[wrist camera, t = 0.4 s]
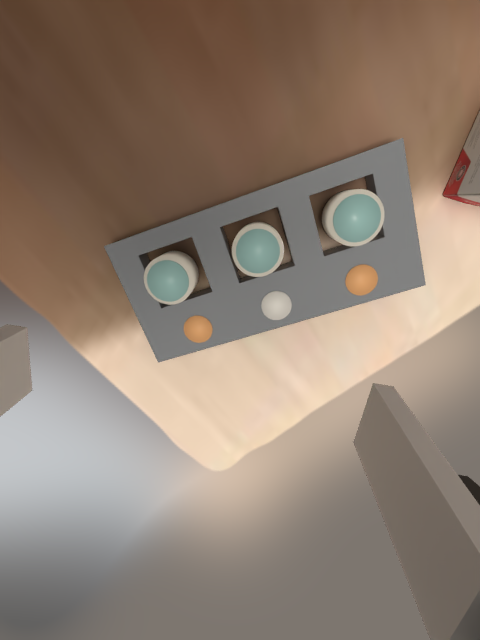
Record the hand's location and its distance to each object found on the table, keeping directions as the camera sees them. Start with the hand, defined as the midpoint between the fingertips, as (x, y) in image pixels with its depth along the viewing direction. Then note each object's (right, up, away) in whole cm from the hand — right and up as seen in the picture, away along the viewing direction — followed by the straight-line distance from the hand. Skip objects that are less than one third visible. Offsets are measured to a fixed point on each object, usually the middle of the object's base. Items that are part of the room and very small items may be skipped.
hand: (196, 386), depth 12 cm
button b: (+4, +10, +20) cm, 23 cm away
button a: (-5, +7, +22) cm, 24 cm away
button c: (+12, +12, +19) cm, 26 cm away
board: (+4, +9, +23) cm, 25 cm away
